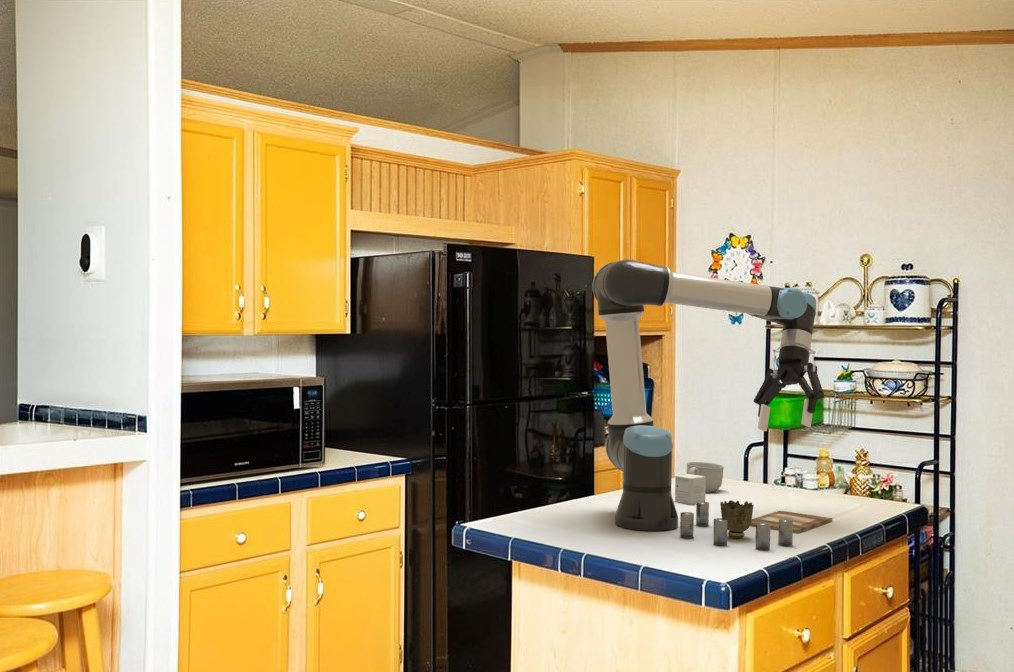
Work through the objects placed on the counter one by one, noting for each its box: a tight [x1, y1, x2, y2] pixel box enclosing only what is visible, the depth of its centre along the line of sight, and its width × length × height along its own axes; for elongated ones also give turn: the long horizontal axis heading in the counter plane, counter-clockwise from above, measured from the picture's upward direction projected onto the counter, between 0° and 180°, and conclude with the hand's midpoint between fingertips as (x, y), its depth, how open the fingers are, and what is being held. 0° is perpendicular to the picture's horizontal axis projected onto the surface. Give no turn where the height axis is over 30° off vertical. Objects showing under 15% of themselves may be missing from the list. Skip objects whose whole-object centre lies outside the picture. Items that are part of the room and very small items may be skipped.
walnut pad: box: [750, 510, 833, 534], centre depth 240 cm, size 20×14×1 cm
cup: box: [719, 499, 754, 540], centre depth 222 cm, size 8×7×8 cm
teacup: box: [686, 461, 725, 493], centre depth 285 cm, size 14×11×8 cm
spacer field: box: [679, 501, 794, 551], centre depth 223 cm, size 22×29×6 cm
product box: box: [674, 473, 706, 506], centre depth 267 cm, size 6×6×7 cm
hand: (783, 427), depth 243 cm, fingers open, 13 cm apart
